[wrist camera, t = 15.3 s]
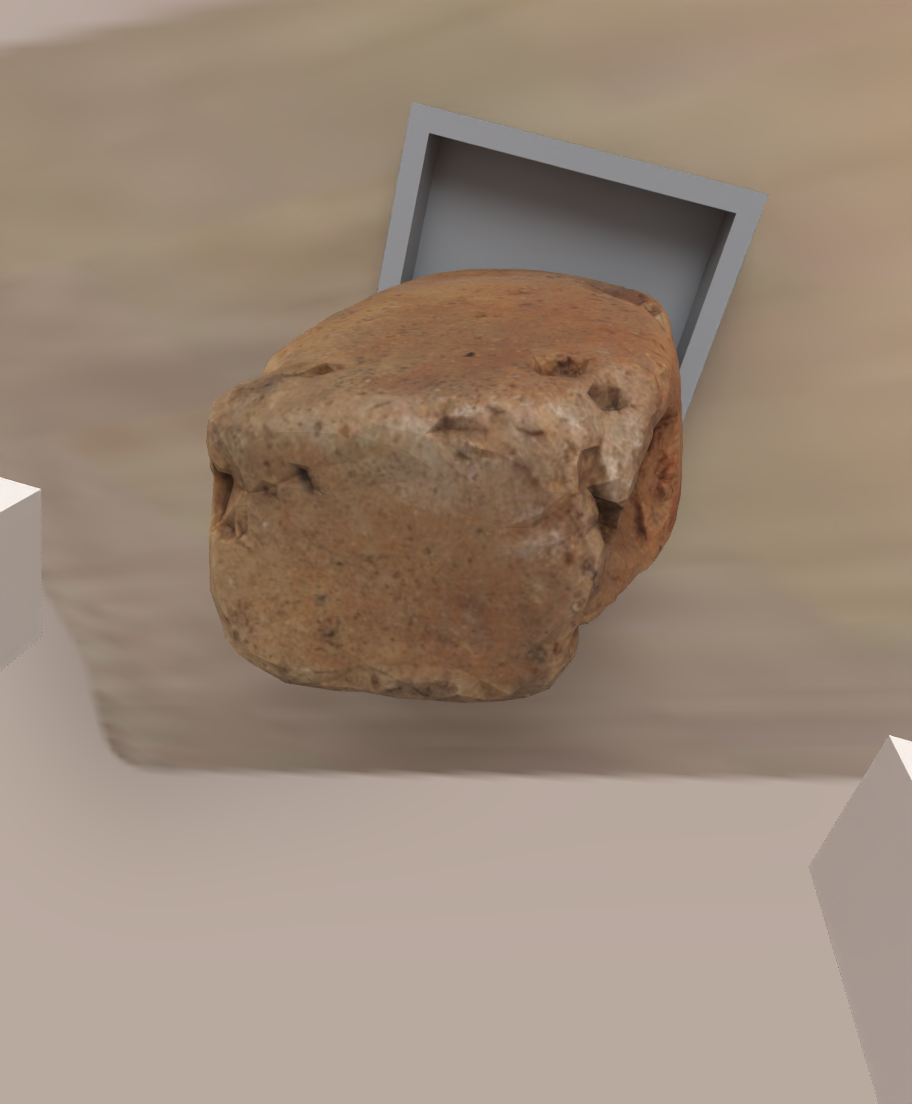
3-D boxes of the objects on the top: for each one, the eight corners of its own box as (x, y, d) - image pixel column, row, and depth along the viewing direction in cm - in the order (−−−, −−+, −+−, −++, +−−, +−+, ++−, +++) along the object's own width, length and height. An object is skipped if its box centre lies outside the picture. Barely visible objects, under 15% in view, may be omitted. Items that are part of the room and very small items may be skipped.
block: (411, 439, 36) (192, 704, 18) (404, 259, 33) (129, 365, 15) (664, 450, 34) (698, 760, 16) (682, 260, 31) (750, 383, 13)
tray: (753, 191, 30) (768, 194, 27) (620, 553, 37) (622, 583, 34) (427, 107, 31) (411, 101, 28) (357, 480, 38) (339, 504, 35)
